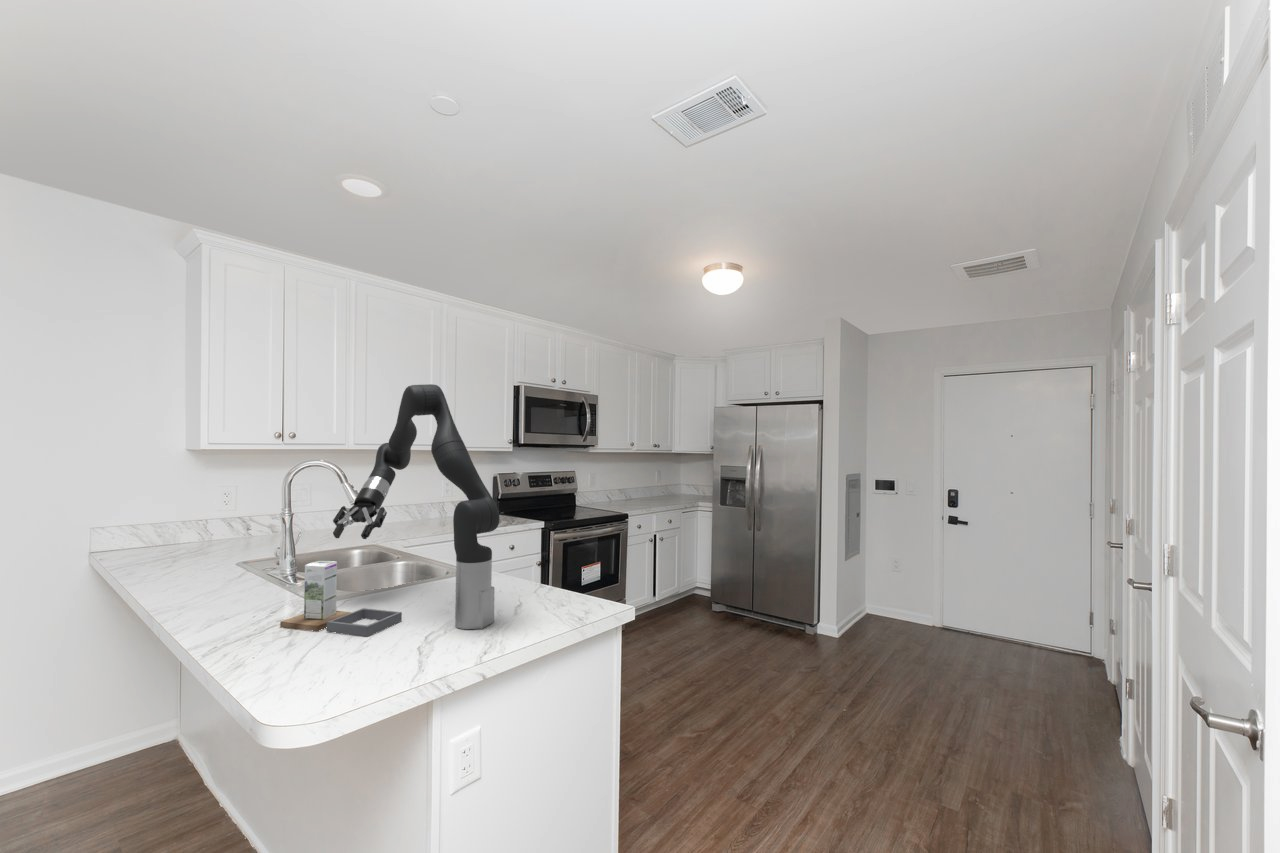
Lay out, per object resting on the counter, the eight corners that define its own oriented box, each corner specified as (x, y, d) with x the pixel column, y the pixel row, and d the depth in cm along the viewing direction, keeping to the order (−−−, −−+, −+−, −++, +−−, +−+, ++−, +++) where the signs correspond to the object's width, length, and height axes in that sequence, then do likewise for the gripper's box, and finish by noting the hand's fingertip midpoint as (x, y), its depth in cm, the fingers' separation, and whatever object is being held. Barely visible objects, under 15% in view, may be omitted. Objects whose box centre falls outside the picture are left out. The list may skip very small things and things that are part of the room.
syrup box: (337, 613, 154) (338, 560, 154) (322, 620, 148) (324, 565, 148) (317, 613, 154) (318, 559, 155) (302, 619, 148) (304, 564, 149)
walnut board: (352, 617, 155) (353, 612, 155) (317, 631, 143) (317, 625, 143) (317, 613, 158) (318, 608, 158) (280, 627, 147) (280, 621, 147)
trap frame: (401, 621, 152) (401, 612, 152) (367, 636, 140) (367, 626, 140) (363, 617, 156) (363, 608, 156) (326, 631, 144) (326, 621, 144)
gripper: (346, 486, 174) (320, 528, 162) (390, 486, 172) (367, 530, 161) (356, 501, 179) (332, 544, 167) (398, 502, 178) (377, 545, 166)
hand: (349, 537), depth 164 cm, fingers open, 8 cm apart
